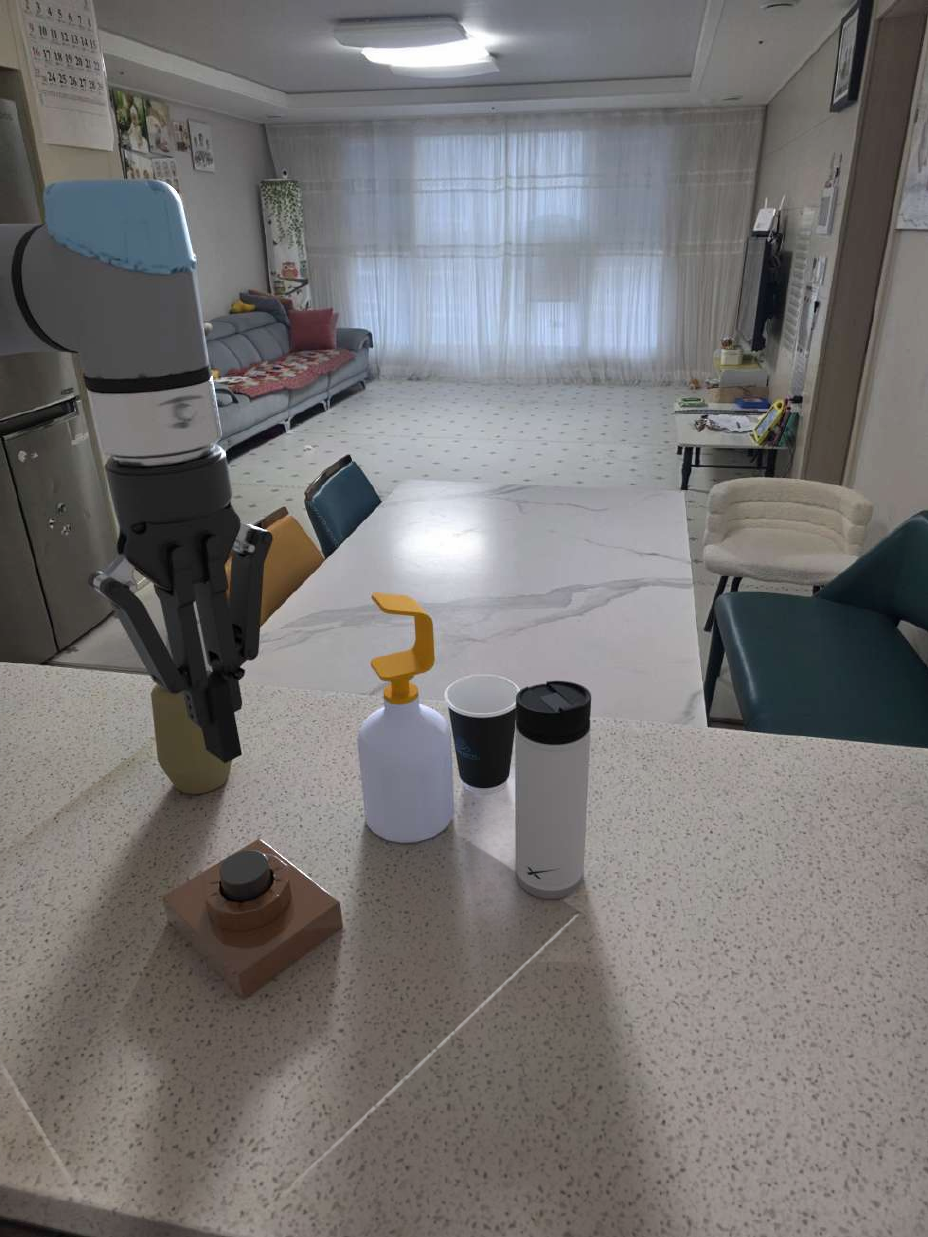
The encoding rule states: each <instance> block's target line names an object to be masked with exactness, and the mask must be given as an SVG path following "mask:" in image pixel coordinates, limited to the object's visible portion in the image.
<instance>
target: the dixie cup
mask: <svg viewBox="0 0 928 1237" xmlns="http://www.w3.org/2000/svg"><path fill="white" fill-rule="evenodd" d="M520 690H521V689H520V687H519V686H518V685H517V684H516V683H515V682H513V681H512V680H510V679H508V678H505V677H502V676H499V675H494V674H493V675H492V674H474V675H469V676H465V677H462V678H459V679H457V680H455V681H454V682H452V683H450V684H449V685H448V687H447V688H446V689H445V691H444V695H443V699H444V702H445V705H446V706H447V709H448V715H449V716H448V717H449V721H450V727H451V735H452V739H453V745H454V751H455V757H456V762H457V768H458V775H459V778H460V780H461V782H462V785H463V787H464V788H465V789H466V791H469V792H470V793H472V794H475V795H480V796H487V795H494V794H497V793H499V792H500V791H502V790H503V789H505V787H506V785H507V782H508V779H509V777H510V774H511V773H510V772H511V764H512V757H513V749H514V743H515V721H516V695H517V693H518V692H519V691H520Z"/></svg>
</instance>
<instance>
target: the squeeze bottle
mask: <svg viewBox="0 0 928 1237" xmlns="http://www.w3.org/2000/svg"><path fill="white" fill-rule="evenodd" d="M165 637H166V638H165V639H166V640H165V646H166V648H167V650H168V652H169V654H170V656H171V658H172V654H171V649H170V645H169V640H168V635H167V634H166V636H165ZM172 660H173V659H172ZM150 699H151V708H152V717H153V724H154V725H153V728H154V736H155V737H154V738H155V746H156V754H157V761H158V764H159V766H160V768H161V770H162V771H163V773H165V775H166V776H167V778H168V779H169V780H170V782H171V783H172V785H173V786H174V787H175V788H176V790H178V791H180V792H181V793H183V794H189V795H199V794H206V793H209V792H213V791H215V790H216V789H219V788H220V787H221V786H223V785H224V784H225V783H226V782H227V781H228V779H229V778H230V772H231V769H232V768H231V767H232V763H233V760H231V761H229V762H227V763H224V762H223V761H221V760H220V759H218V758H217V757H216V756H214V755H213V754H211V753H210V752H209V751H207V750H206V746H205V741H204V737H203V732H202V728H201V727H199V726H198V725H196V724H195V723H193V722H192V721H191V720H190V719H189V717H188V714H187V709H186V705H185V700H184V695H183V691H181V692H179V693H177V694H173V693H170V692H169V691H167V690H166V689H164V688H163V687H161V686H160V685H158V684H157V683H155V685H154V686H153V688H152V690H151V693H150Z"/></svg>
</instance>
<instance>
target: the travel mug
mask: <svg viewBox="0 0 928 1237" xmlns="http://www.w3.org/2000/svg"><path fill="white" fill-rule="evenodd" d="M591 710H592V693H591V692H590V690H589V689H588V688H587V687H586V686H583V685H582V684H579V683H577V682H573V681H567V680H548V681H546V682H545V683H540V684H534V685H532V686H524V687H523V688H521V689H520V691H519V692H518V693H517V695H516V721H515V734H514V765H515V766H514V767H515V768H514V787H515V788H514V828H515V829H514V839H515V840H514V842H515V843H514V845H515V846H514V853H515V854H514V863H515V864H514V867H515V868H514V871H515V872H514V874H515V875H514V876H515V879H516V881H517V883H518V885H519V886H520V887H521V888H522V890H524V891H525V892H527V893H528V894H529V895H532V896H534V897H535V898H539V899H545V900H559V899H564V898H567V897H568V896H571V895H572V894H574V893H575V892H577V891H578V890H579V888H581V886H582V883H583V882H584V874H585V852H586V834H587V833H586V831H587V812H588V811H587V810H588V792H589V791H588V789H589V788H588V787H589V770H590V769H589V766H590V746H591V712H592V711H591Z"/></svg>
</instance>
